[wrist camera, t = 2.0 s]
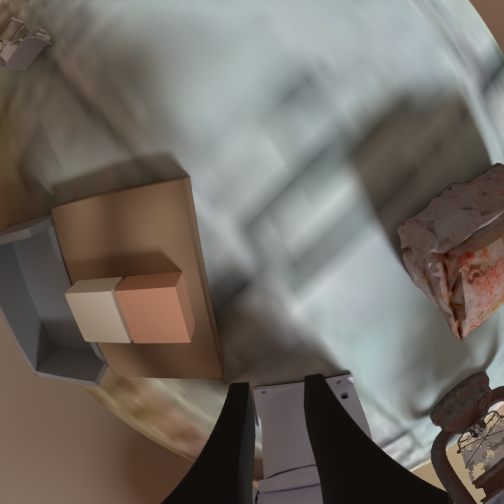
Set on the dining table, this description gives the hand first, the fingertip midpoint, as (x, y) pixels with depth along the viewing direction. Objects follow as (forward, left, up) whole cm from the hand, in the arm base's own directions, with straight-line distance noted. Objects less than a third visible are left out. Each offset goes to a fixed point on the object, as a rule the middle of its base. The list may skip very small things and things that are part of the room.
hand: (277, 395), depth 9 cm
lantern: (-28, +25, -11) cm, 39 cm away
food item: (-16, -3, -11) cm, 20 cm away
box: (+18, 0, -10) cm, 21 cm away
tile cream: (+11, 0, -8) cm, 14 cm away
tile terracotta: (+7, 0, -8) cm, 11 cm away
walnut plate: (+9, 0, -10) cm, 14 cm away
